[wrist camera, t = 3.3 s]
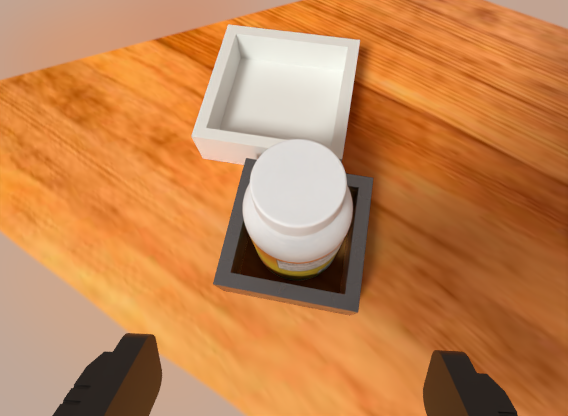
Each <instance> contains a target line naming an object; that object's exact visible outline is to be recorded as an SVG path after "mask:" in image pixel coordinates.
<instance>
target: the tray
mask: <svg viewBox="0 0 568 416" xmlns="http://www.w3.org/2000/svg"><path fill="white" fill-rule="evenodd" d="M359 45H360V40H355V39H347V38H338V37H330V36H321V35H313V34H304V33H296V32H287V31H279V30H270V29H262V28H254V27H245V26H237V25H228V27H227V30H226V33H225V36H224V39H223V42H222V45H221V48H220V51H219V54H218V57H217V60H216V63H215V66H214V69H213V72H212V75H211V78H210V81H209V84H208V87H207V90H206V93H205V96H204V100H203V103H202V106H201V109H200V112H199V115H198V118H197V121H196V124H195V127H194V130H193V133H192V136H191V137H192V139H193V141H194V142H195V144H196V146H197V148H198V150H199V152H200V154H201V156H202V158H204V159H210V160H216V161H222V162H229V163H235V164H241V165H244V164H245V160H246V158H250V159H256V160H257V159H258V158H259V157H260V156H261V155H262V154H263V152H265V151H266V150H267V149H268V148H270V147H271V146H273V145H275V144H277V143H279V142H282V141H285V140H290V139H306V140H312V141H315V142H318V143H320V144H322V145H324V146H326V147H327V148H329V149H330V150H331V151H332V152H333V153H334V154H335V155H336V156H337V157H338V158H339V160H340V161H341V162H342V157H343V151H344V144H345V137H346V131H347V124H348V118H349V111H350V104H351V98H352V91H353V84H354V78H355V71H356V64H357V58H358V51H359Z"/></svg>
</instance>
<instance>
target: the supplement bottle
mask: <svg viewBox="0 0 568 416" xmlns="http://www.w3.org/2000/svg"><path fill="white" fill-rule="evenodd" d="M352 213H353V202H352V197H351V193H350V190H349V188H348V186H347V178H346V173H345V170H344V167H343V165H342V163H341V161H340V160H339V158H338V157H337V156H336V155H335V154H334V153H333V152H332V151H331V150H330V149H329V148H327V147H326V146H324V145H322V144H320V143H318V142H315V141H312V140H306V139H290V140H285V141H282V142H279V143H277V144H275V145H273V146H271V147H270V148H268V149H267V150H266V151H265V152H263V154H262V155H261V156H260V157H259V158H258V159H257V161H256V163H255V164H254V166H253V169H252V172H251V176H250V183H249V185H248V187H247V189H246V192H245V195H244V199H243V218H244V223H245V226H246V229H247V231H248V234H249V236H250V238H251V240H252V242H253V244H254V246H255V248H256V251H257V253H258V255H259V257H260V259H261V260H262V262H263V263H264V265H265V266H266V267H267V268H268V269H269V270H270V271H271V272H272V273H274V274H275V275H277V276H279V277H281V278H284V279H287V280H294V281H302V280H308V279H311V278H314V277H316V276H317V275H319V274H321V273H322V272H323V271H325V270H326V269H327V268H328V267H329V265H330V264H331V263H332V261H333V260H334V258H335V256H336V254H337V252H338V250H339V248H340V246H341V244H342V242H343V240H344V238H345V236H346V234H347V232H348V230H349V227H350V224H351V220H352Z"/></svg>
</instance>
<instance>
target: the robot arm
mask: <svg viewBox="0 0 568 416" xmlns="http://www.w3.org/2000/svg"><path fill="white" fill-rule="evenodd" d="M161 381H162V369H161V364H160V358H159V353H158V348H157V343H156V338H155V336H154V335H153V334H134V333H127V334H125V335H124V336H123V337H122V339H121V340H120V342H119V343H118V345H117V346H116V348H115V349H114V351H113V352H103V353H102V354H101V355H100V356H99V357H98V358H96V359H95V360H94V361H93V362H91V364H89V365H88V366H87V367H86V368H85V370H84V371H83V373H82V374H81V375H80V377H79V378H78V380H77V381H76V383H75V384H74V388H71V390H70V391H69V393H68V394H67V395H66V397H65V398H64V401H63V404H60V406H59V407H58V408H57V410H56V411H55V413H54V414H53V416H149V414H150V412H151V409H152V407H153V405H154V402H155V400H156V397H157V395H158V392H159V390H160V386H161ZM423 400H424V406H425V410H426V413H427V416H518V415H517V411H516V410H515V408H514V406H513V404H512V403H511V401H510V399H509V398H508V396H507V394H506V393H505V391H504V390H503V389H502V388H501V387H500V386H499V385H498V384H497V383H496V382H495V381H494V380H493V379H491V378H490V377H489V376H488V375H487V374H480V373H477V372H476V371H475V369H474V367H473V365H472V363H471V361H470V359H469V358H468V356H467V355H466V354H465V353H464V352H458V351H439V350H435V351H434V352H433V354H432V357H431V361H430V364H429V368H428V372H427V376H426V379H425V383H424V387H423Z"/></svg>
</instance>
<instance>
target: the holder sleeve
mask: <svg viewBox="0 0 568 416" xmlns="http://www.w3.org/2000/svg"><path fill="white" fill-rule="evenodd" d="M256 161H257V160H256V159H250V158H246V160H245V164H244V167H243V171H242V175H241V179H240V183H239V187H238V190H237V194H236V198H235V202H234V206H233V210H232V213H231V217H230V221H229V225H228V229H227V233H226V236H225V240H224V244H223V248H222V252H221V256H220V259H219V263H218V267H217V271H216V275H215V279H214V282H213V284H214V285H215V286H217V287H219V288H220V289H222V290H224V291H228V292H233V293H238V294H244V295H249V296H254V297H259V298H264V299H269V300H274V301H279V302H284V303H289V304H294V305H299V306H304V307H309V308H315V309H320V310H325V311H330V312H335V313H340V314H345V315H352V314H355V313H358V309H359V300H360V291H361V282H362V273H363V265H364V256H365V247H366V238H367V229H368V220H369V211H370V203H371V194H372V185H373V178H371V177H364V176H358V175H352V174H346V178H347V186H348V188H349V190H350V193H351V197H352V202H353V213H352V220H351V224H350V227H349V230H348V234H347V241H346V249H345V256H344V264H343V271H342V279H341V286H340V294H339V293H334V292H329V291H323V290H318V289H313V288H308V287H303V286H297V285H292V284H287V283H282V282H276V281H271V280H266V279H261V278H256V277H250V276H245V275H240V273H241V269H242V265H243V260H244V256H245V252H246V248H247V243H248V239H249V234H248V231H247V229H246V226H245V223H244V218H243V199H244V195H245V192H246V189H247V187H248V185H249V183H250V176H251V172H252V169H253V166H254V164H255V163H256Z"/></svg>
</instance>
